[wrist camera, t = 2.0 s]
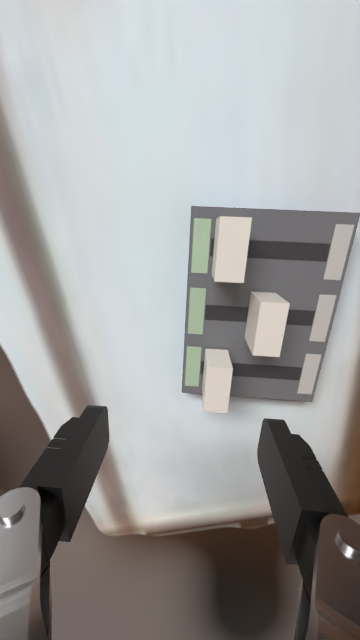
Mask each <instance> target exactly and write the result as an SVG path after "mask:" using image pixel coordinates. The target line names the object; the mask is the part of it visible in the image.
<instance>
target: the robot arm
mask: <svg viewBox="0 0 360 640" xmlns="http://www.w3.org/2000/svg"><path fill="white" fill-rule="evenodd" d="M108 443H109V425H108V410H107V407H106V406H94V405H88V406H87V407H86V408H85V410H84V411H83V413H82V414H81V416H80V418H76V417H72V418H71V419H70V420H69V421H67V422H66V423H65V424H63V425H62V426H61V427H60V429H59V430H58V432H57V433H56V435H55V436H54V439H52V440H51V442H50V443H49V445H48V447H47V449H45V451H44V452H43V454H42V455H41V456H40V458H39V459H38V461H37V462H36V464H35V465H34V466H33V468H32V469H31V471H30V472H29V474H28V475H27V477H26V478H25V479H24V481H23V482H22V484H21V485H20V487H19V488H18V489H14V490H12V491H10V492H8V493H6V494H4V495H3V496H1V497H0V640H52V555H53V553H54V550H55V548H56V546H57V544H58V541H65V542H70V540H71V538H72V535H73V533H74V530H75V528H76V525H77V523H78V521H79V518H80V516H81V513H82V511H83V508H84V506H85V503H86V501H87V498H88V496H89V493H90V491H91V488H92V486H93V484H94V481H95V479H96V476H97V474H98V471H99V469H100V466H101V464H102V461H103V459H104V456H105V454H106V451H107V448H108ZM258 463H259V467H260V471H261V474H262V478H263V482H264V485H265V489H266V492H267V496H268V500H269V503H270V507H271V511H272V514H273V518H274V521H275V525H276V529H277V532H278V535H279V539H280V543H281V546H282V550H283V554H284V557H285V561H286V564H297V565H298V566H299V569H300V572H301V575H302V580H301V584H300V591H299V600H298V608H297V617H296V626H295V634H294V640H360V525H359V524H358V523H356V522H355V521H353V520H352V519H350V518H348V516H347V514H346V512H345V511H344V509H343V507H342V505H341V503H340V501H339V499H338V498H337V496H336V494H335V492H334V490H333V488H332V486H331V485H330V483H329V481H328V479H327V477H326V475H325V473H324V472H322V468H321V466H320V464H319V462H318V461H317V460H316V457H315V455H314V453H313V451H312V449H311V448H310V446H309V445H308V444H307V443H306V442H305V441H304V440H303V439H302V438H301V437H300V436H299V435H296V434H291V433H290V431H289V428H288V426H287V424H286V422H285V421H284V420H279V419H264V420H263V423H262V428H261V433H260V438H259V444H258Z"/></svg>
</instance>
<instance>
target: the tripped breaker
mask: <svg viewBox="0 0 360 640" xmlns="http://www.w3.org/2000/svg"><path fill="white" fill-rule="evenodd" d="M289 305H290V303H289V302H287V301H286V300H285V299H283V298H282V297H281V296H279V295H278V294H277V293H272V292H253V291H251V294H250V301H249V309H248V316H247V323H246V331H245V340H246V342H247V344H248V347H249V349H250V351H251V353H252V355H254V356H270V357H280V352H281V347H282V342H283V337H284V331H285V326H286V321H287V316H288V311H289Z"/></svg>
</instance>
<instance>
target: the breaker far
mask: <svg viewBox="0 0 360 640" xmlns="http://www.w3.org/2000/svg"><path fill="white" fill-rule="evenodd" d="M232 372H233V367H232V364H231V360H230V356H229V353H228V350H222V349H206V348H205V359H204V371H203V383H202V398H203V411H204V412H217V413H227V412H228V404H229V396H230V388H231V380H232Z"/></svg>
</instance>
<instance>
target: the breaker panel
mask: <svg viewBox="0 0 360 640" xmlns="http://www.w3.org/2000/svg"><path fill="white" fill-rule="evenodd" d="M220 216H228V217H252V222H251V230H250V238H249V246H248V254H247V262H246V270H245V277H244V283H232V282H214V279H213V277H212V262H213V250H214V238H215V226H216V219H217V218H218V217H220ZM359 217H360V213H348V212H323V211H298V210H274V209H249V208H224V207H199V206H191V225H190V244H189V263H188V283H187V302H186V321H185V340H184V359H183V379H182V393H196V394H202V383H203V371H204V359H205V348H206V349H222V350H228V353H229V356H230V360H231V364H232V367H233V372H232V380H231V388H230V396H239V397H253V398H267V399H281V400H296V401H310V402H312V400H313V396H314V392H315V389H316V385H317V381H318V377H319V373H320V369H321V365H322V361H323V357H324V353H325V350H326V346H327V342H328V338H329V334H330V330H331V326H332V322H333V318H334V314H335V310H336V307H337V303H338V299H339V295H340V291H341V287H342V283H343V279H344V275H345V271H346V268H347V264H348V260H349V256H350V252H351V248H352V244H353V240H354V236H355V232H356V229H357V225H358V221H359ZM251 291H253V292H272V293H277V294H278V295H279V296H281V297H282V298H283V299H285V300H286V301H287V302H289V303H290V305H289V311H288V316H287V321H286V326H285V331H284V337H283V342H282V347H281V352H280V357H270V356H254V355H252V353H251V351H250V349H249V347H248V344H247V342H246V340H245V331H246V323H247V316H248V309H249V301H250V294H251Z"/></svg>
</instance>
